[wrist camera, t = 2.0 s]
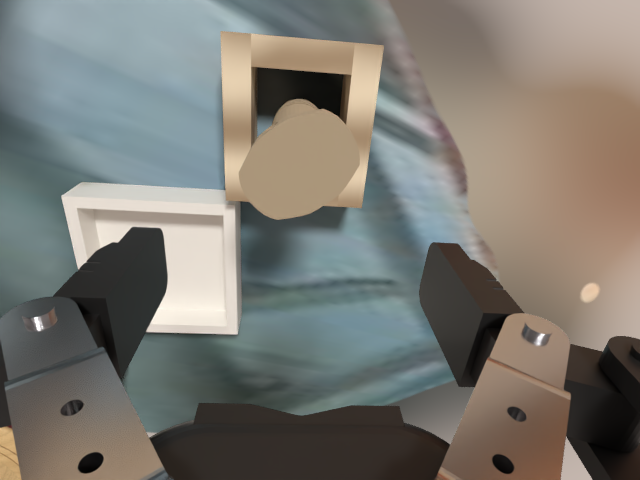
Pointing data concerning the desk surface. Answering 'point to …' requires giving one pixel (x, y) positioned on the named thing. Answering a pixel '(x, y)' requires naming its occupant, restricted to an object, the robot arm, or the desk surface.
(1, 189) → the desk surface
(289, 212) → the handle
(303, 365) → the desk surface
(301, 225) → the desk surface
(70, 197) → the tray
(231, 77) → the socket block
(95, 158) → the desk surface
